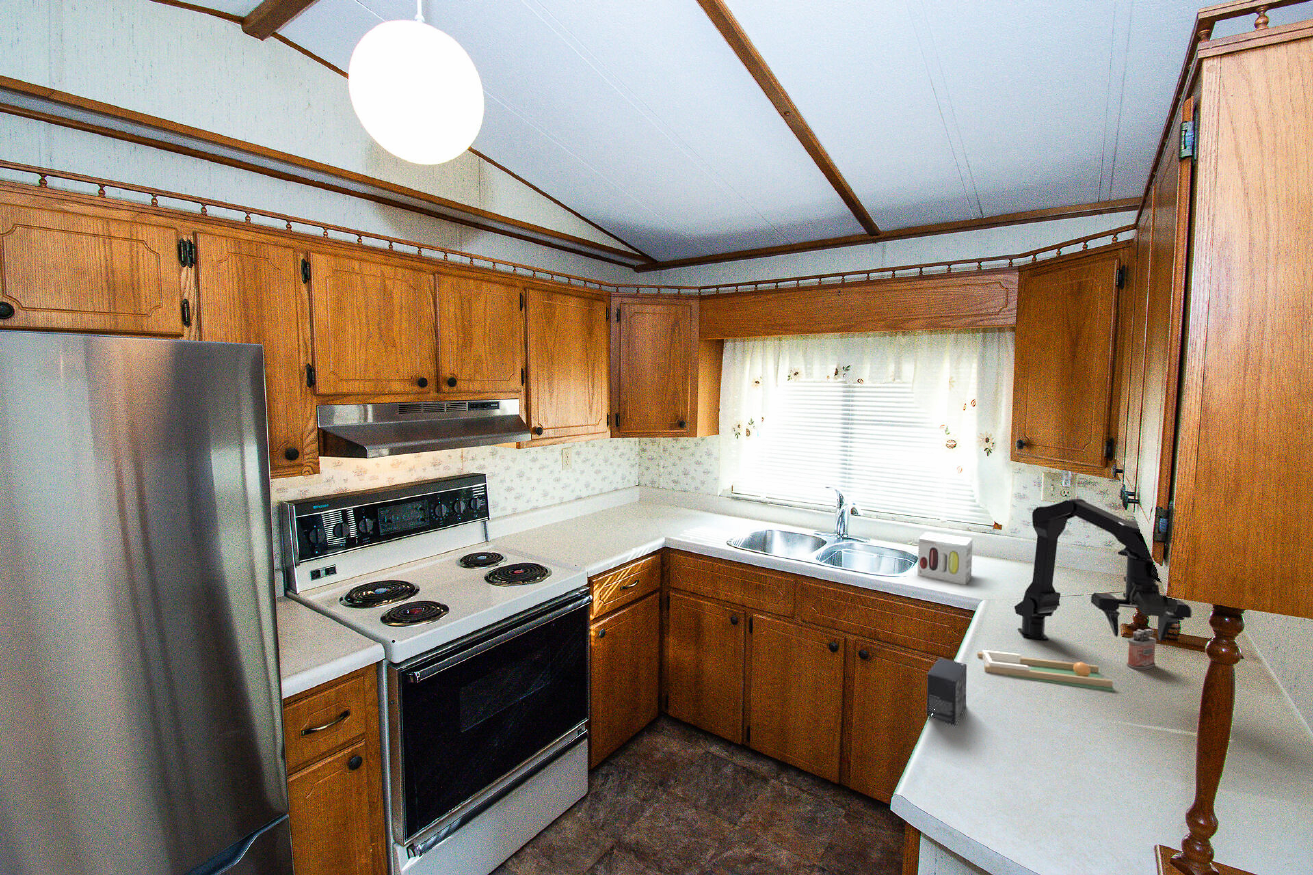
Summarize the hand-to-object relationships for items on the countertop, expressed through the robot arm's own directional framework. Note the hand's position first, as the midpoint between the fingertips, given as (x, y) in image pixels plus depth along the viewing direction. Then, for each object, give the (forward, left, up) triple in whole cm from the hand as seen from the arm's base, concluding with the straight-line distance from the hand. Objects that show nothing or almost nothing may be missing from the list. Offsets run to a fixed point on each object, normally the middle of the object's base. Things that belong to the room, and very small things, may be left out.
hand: (1137, 638), depth 145 cm
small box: (+27, -48, -12) cm, 56 cm away
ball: (0, -12, -10) cm, 15 cm away
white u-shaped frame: (0, -29, -12) cm, 31 cm away
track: (0, -21, -12) cm, 24 cm away
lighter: (-13, +6, -12) cm, 19 cm away
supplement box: (-75, -32, -12) cm, 82 cm away
